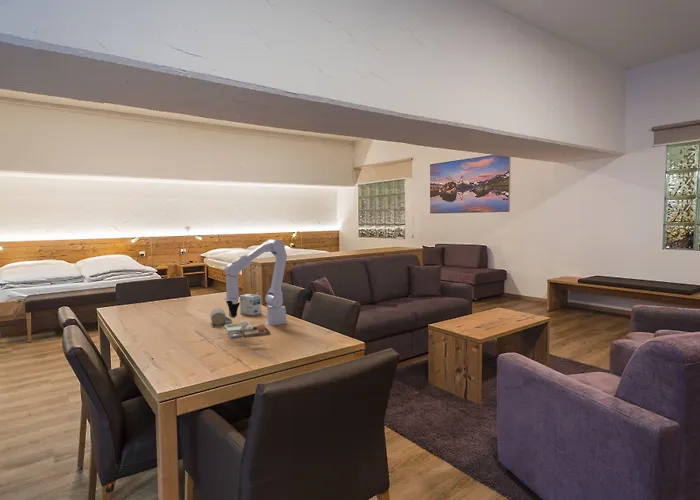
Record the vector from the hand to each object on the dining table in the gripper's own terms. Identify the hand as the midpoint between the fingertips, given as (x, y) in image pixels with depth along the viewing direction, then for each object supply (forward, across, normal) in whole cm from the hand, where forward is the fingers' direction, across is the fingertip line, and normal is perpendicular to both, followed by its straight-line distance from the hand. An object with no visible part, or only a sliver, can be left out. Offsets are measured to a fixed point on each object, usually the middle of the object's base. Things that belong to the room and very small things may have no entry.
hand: (233, 315), depth 203 cm
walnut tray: (+7, +10, +8) cm, 15 cm away
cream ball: (+7, 0, +5) cm, 8 cm away
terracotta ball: (+7, +10, +12) cm, 17 cm away
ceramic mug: (+8, -16, -4) cm, 18 cm away
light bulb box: (+8, -32, +14) cm, 36 cm away
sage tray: (+7, 0, +2) cm, 8 cm away
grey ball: (+1, 0, 0) cm, 1 cm away
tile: (+7, +11, -1) cm, 13 cm away
